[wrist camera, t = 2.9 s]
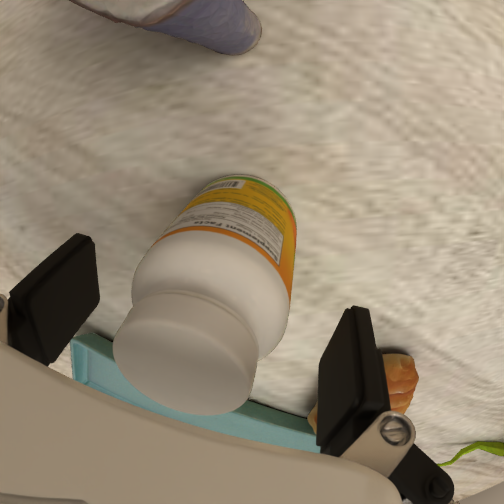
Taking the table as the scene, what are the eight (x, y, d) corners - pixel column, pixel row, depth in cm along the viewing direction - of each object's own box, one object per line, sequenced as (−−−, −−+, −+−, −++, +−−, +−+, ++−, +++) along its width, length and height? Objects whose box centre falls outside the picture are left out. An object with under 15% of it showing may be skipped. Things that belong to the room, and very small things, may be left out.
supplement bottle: (261, 285, 18) (221, 444, 10) (177, 235, 17) (80, 370, 9) (318, 211, 15) (324, 373, 7) (222, 151, 15) (111, 255, 6)
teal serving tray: (371, 429, 24) (373, 452, 22) (317, 462, 29) (316, 482, 27) (85, 315, 22) (69, 336, 20) (84, 372, 27) (72, 390, 25)
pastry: (354, 335, 19) (359, 383, 16) (437, 352, 19) (451, 395, 15) (304, 411, 24) (301, 451, 20) (375, 421, 24) (378, 459, 20)
